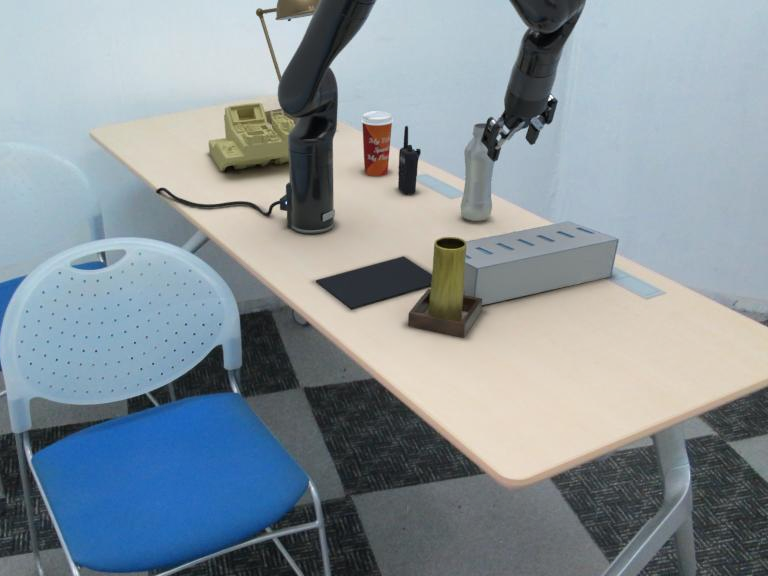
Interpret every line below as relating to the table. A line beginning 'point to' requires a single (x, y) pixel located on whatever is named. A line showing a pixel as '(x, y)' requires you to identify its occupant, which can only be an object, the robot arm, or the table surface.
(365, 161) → the paper cup
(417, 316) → the holder
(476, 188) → the plastic bottle
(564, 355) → the table surface
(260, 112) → the control panel
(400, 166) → the two-way radio
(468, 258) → the warehouse
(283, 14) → the lamp
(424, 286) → the mat
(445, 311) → the vase
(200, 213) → the table surface
